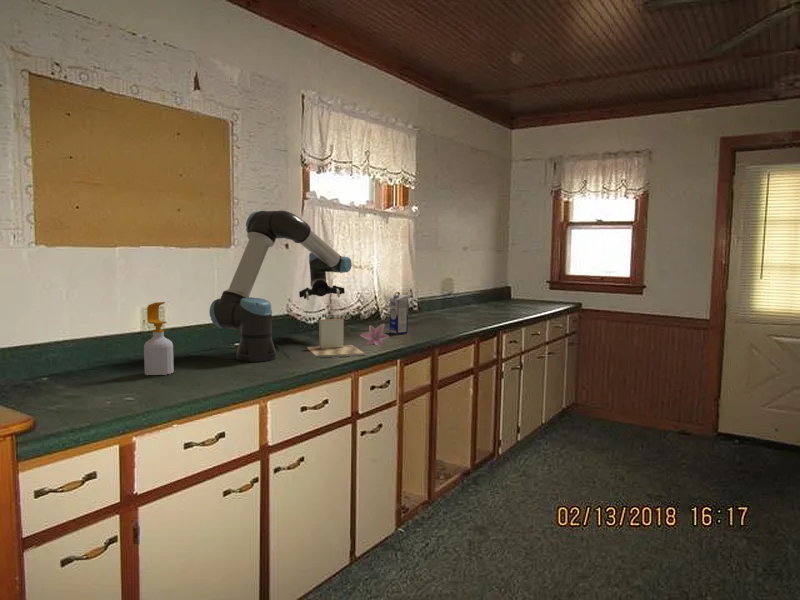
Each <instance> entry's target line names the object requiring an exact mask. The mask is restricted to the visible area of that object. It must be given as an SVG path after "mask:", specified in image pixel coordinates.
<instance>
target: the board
mask: <svg viewBox="0 0 800 600" xmlns="http://www.w3.org/2000/svg"><path fill="white" fill-rule="evenodd" d="M306 349H308V350H309V351H310V353H312V354H313V355H314V356H317V357H318V356H319V357H320V356H327V357H321V359H333V358H332V357H333V356H336V355H337V356H338V355H340V358H351V357H350V356H351V355H356V354H361V355H359V357H365V355H362V354H365V352H363V351H362V350H361V349H359V348H358V347H356V346H355V345H352V344H345V345H344V348H323V349H320V348H319V345H318V346H306ZM342 355H344V356H342ZM345 355H346V356H345Z"/></svg>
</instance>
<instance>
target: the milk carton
mask: <svg viewBox="0 0 800 600" xmlns="http://www.w3.org/2000/svg"><path fill="white" fill-rule="evenodd" d="M408 315H409V295H407V294H402V293H401V294H395V295H393V296H392V297H389V333H390V332H391V333H390V334H392V333H395V334H394V335H396V334H399V335H404V334H403V333H408V332H409V331H408V327H409V326H408V325H409V324H408V321H409V319H408V318H409V316H408Z"/></svg>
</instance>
